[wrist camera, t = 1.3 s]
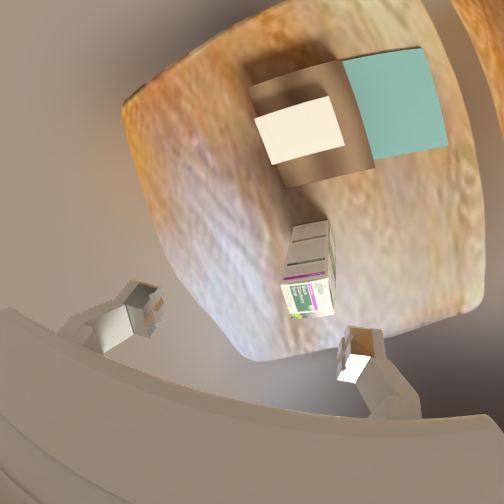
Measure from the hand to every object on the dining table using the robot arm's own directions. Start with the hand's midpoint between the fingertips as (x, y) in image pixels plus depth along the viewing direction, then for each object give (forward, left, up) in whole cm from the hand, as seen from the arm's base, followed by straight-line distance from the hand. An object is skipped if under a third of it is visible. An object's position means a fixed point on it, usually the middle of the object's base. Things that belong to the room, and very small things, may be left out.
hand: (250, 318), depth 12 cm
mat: (-14, -4, -31) cm, 34 cm away
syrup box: (+3, +13, -31) cm, 34 cm away
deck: (-2, -4, -31) cm, 31 cm away
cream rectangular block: (-1, -4, -27) cm, 27 cm away
